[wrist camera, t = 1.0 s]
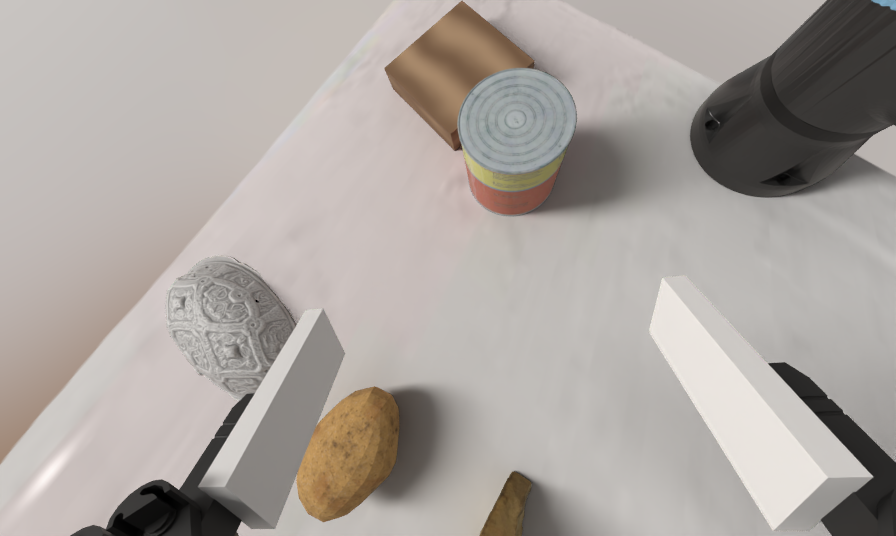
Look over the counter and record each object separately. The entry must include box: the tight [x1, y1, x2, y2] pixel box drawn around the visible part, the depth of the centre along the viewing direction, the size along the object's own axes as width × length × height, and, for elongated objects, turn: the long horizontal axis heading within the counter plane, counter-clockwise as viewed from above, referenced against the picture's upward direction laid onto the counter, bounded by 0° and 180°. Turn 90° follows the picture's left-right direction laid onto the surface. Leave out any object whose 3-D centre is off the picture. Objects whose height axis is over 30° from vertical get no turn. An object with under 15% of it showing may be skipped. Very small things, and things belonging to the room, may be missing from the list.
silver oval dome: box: [165, 255, 296, 401], centre depth 43 cm, size 16×25×7 cm, turn 52°
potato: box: [296, 387, 399, 522], centre depth 36 cm, size 10×14×8 cm
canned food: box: [457, 68, 577, 216], centre depth 37 cm, size 11×11×12 cm
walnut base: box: [384, 1, 534, 151], centre depth 45 cm, size 14×14×4 cm
